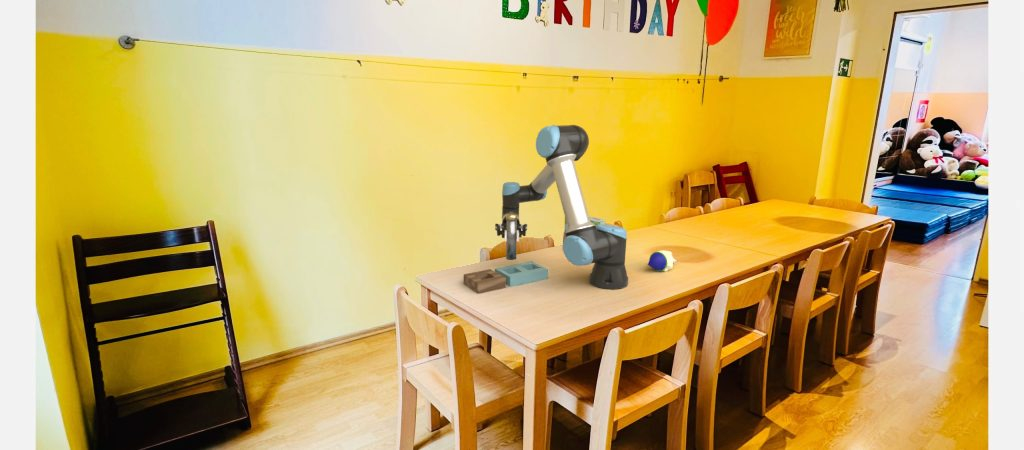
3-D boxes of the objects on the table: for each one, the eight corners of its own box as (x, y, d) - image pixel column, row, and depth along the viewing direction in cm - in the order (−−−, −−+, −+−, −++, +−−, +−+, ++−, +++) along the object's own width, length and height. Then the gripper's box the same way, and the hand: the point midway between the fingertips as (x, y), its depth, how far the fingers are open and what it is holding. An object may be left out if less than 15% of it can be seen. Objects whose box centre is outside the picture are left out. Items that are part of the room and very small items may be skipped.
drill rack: (548, 278, 202) (548, 269, 201) (510, 286, 192) (510, 277, 192) (531, 270, 212) (531, 261, 211) (494, 277, 202) (494, 268, 201)
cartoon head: (676, 272, 219) (651, 281, 206) (660, 257, 224) (635, 264, 211) (687, 258, 214) (662, 266, 201) (671, 243, 219) (646, 250, 206)
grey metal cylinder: (518, 259, 197) (519, 214, 193) (509, 260, 195) (510, 216, 190) (513, 255, 201) (513, 212, 196) (503, 257, 199) (504, 213, 194)
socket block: (505, 287, 191) (505, 277, 190) (478, 293, 185) (478, 283, 184) (490, 278, 201) (490, 269, 200) (463, 283, 195) (463, 274, 194)
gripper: (530, 231, 214) (533, 247, 191) (490, 231, 214) (489, 247, 191) (531, 214, 212) (534, 228, 190) (490, 214, 212) (489, 228, 189)
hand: (511, 237), depth 190 cm, fingers closed on grey metal cylinder, 4 cm apart
